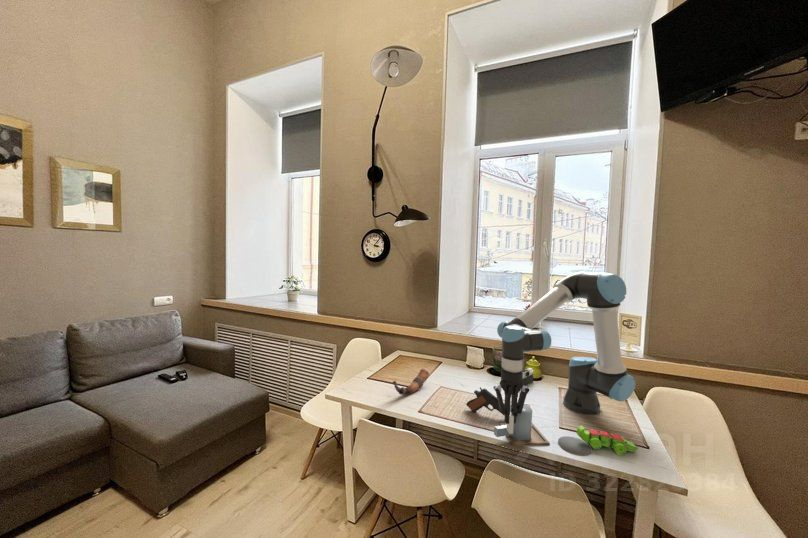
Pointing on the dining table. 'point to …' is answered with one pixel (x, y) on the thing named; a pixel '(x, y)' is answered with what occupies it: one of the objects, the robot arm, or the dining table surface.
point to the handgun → (483, 401)
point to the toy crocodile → (606, 440)
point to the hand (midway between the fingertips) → (509, 431)
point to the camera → (527, 376)
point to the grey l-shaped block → (518, 426)
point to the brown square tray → (536, 440)
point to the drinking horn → (413, 383)
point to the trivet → (574, 445)
